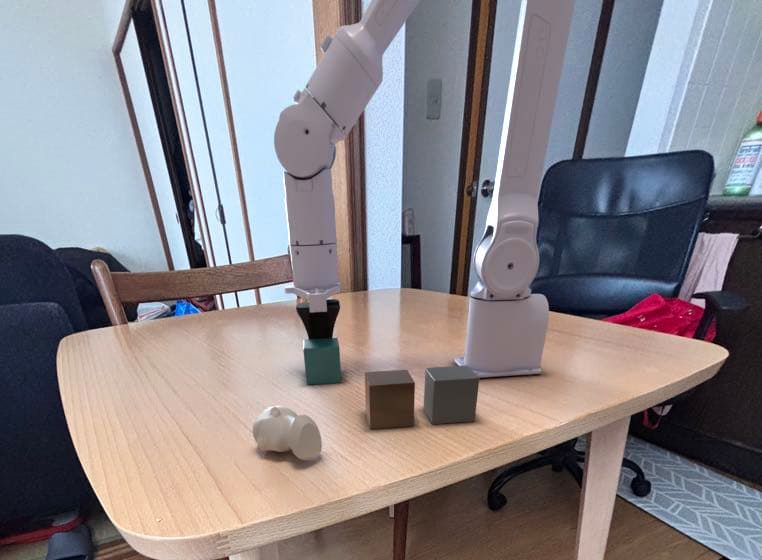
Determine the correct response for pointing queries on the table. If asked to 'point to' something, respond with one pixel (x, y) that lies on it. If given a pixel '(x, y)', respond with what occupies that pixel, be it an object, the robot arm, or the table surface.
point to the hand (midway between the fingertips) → (322, 360)
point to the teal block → (322, 361)
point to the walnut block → (389, 399)
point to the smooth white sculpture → (287, 432)
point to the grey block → (450, 394)
